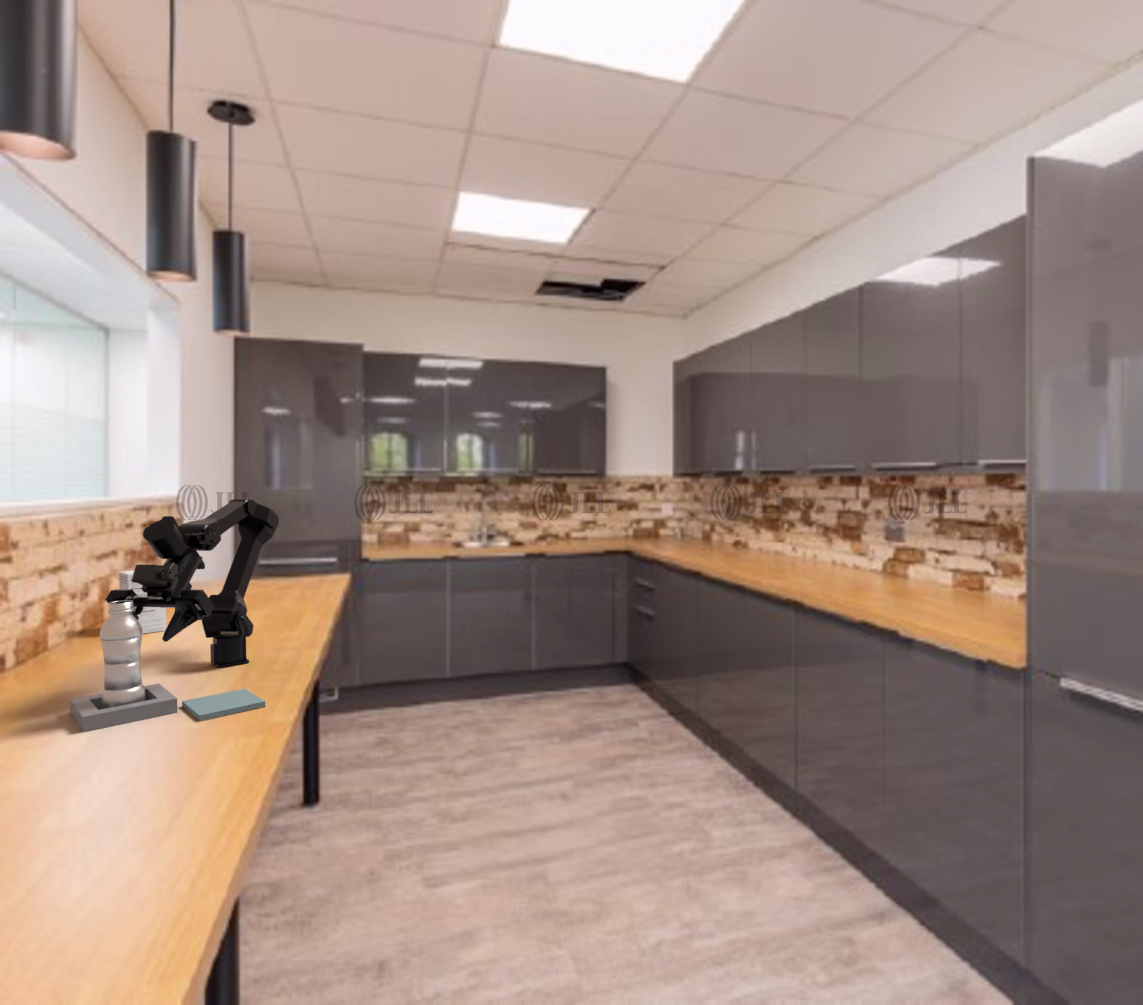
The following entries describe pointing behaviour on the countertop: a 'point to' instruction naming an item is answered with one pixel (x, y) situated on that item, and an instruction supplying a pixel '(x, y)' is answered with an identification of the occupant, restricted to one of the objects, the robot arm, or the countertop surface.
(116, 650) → the plastic bottle
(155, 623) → the supplement box
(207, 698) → the coaster
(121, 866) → the countertop surface
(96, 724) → the pocket holder
